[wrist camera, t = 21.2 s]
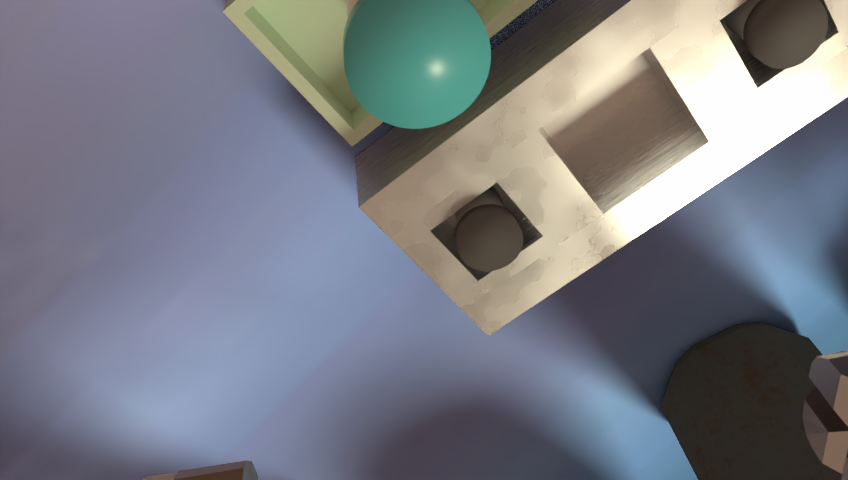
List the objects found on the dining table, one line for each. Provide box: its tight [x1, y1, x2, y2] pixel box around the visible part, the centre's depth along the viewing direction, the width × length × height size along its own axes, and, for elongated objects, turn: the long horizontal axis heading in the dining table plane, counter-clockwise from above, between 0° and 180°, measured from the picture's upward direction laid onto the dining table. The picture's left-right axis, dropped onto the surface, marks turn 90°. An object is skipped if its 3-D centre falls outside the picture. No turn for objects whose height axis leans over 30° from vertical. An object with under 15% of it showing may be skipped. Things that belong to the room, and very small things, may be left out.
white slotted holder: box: [355, 0, 848, 336], centre depth 36 cm, size 22×10×5 cm, turn 128°
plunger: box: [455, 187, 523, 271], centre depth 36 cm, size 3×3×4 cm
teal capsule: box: [343, 0, 491, 129], centre depth 29 cm, size 5×5×10 cm
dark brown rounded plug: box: [724, 0, 828, 69], centre depth 33 cm, size 3×3×4 cm
